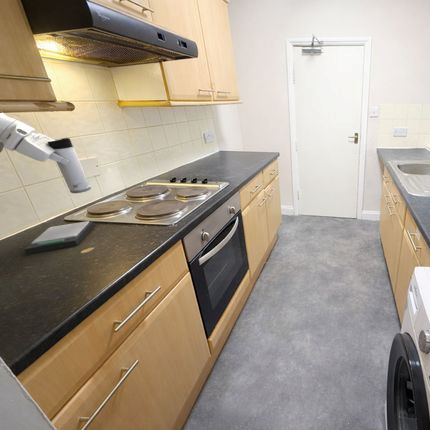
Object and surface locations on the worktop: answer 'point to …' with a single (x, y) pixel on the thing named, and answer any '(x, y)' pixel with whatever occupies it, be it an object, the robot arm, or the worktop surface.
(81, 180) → the travel mug
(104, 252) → the worktop surface
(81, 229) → the kitchen scale
